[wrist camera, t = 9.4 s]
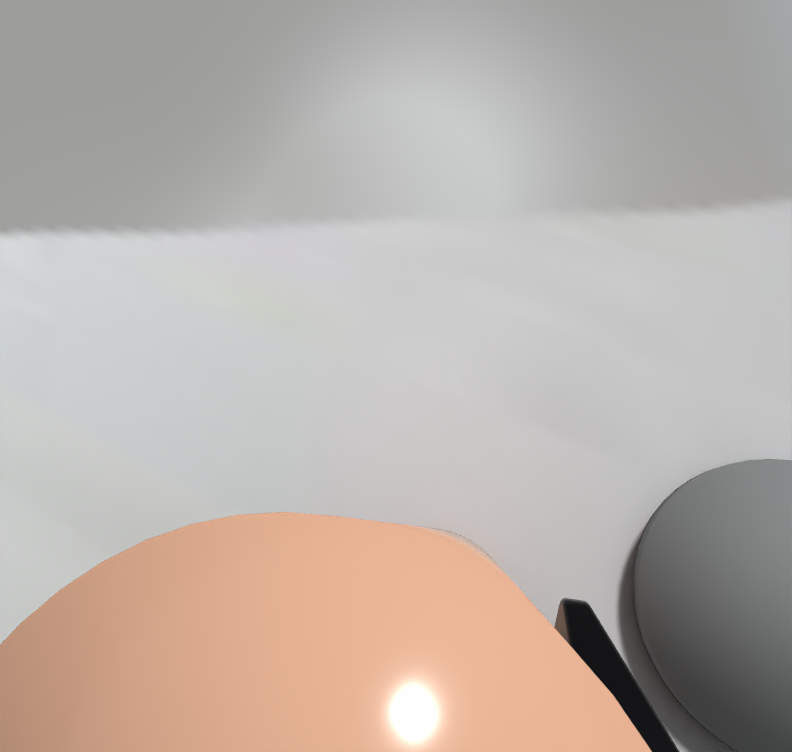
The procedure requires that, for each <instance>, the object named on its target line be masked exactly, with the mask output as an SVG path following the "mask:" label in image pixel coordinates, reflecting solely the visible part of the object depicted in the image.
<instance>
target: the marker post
mask: <svg viewBox="0 0 792 752" xmlns="http://www.w3.org/2000/svg"><path fill="white" fill-rule="evenodd" d="M0 752H652V751H651V750H650V748H649V747H648V745H647V744H646V742H645V741H644V739H643V738H642V737H641V735H640V734H639V732H638V731H637V729H636V728H635V726H634V725H633V723H632V722H631V720H630V719H629V718H628V716H627V715H626V713H625V712H624V710H623V709H622V707H621V706H620V704H619V703H618V702H617V700H616V699H615V697H614V696H613V694H612V693H611V692H610V691H609V690H608V689H607V688H606V686H605V685H604V684H603V683H602V682H601V681H600V679H599V678H598V677H597V676H596V675H595V674H594V673H593V671H592V670H591V669H590V668H589V667H588V666H587V664H586V663H585V662H584V661H583V660H582V659H581V657H580V656H579V655H578V654H577V653H576V652H575V651H574V649H573V648H572V647H571V646H570V645H569V644H568V643H567V641H566V640H565V639H564V638H563V637H562V636H561V635H560V634H559V633H558V631H557V630H556V629H555V628H554V627H553V626H552V625H551V624H550V623H549V621H548V620H547V619H546V618H545V617H544V616H543V615H542V614H541V613H540V611H539V610H538V609H537V608H536V607H535V606H534V605H533V604H532V602H531V601H530V600H529V599H528V598H527V597H526V596H525V595H524V594H523V592H522V591H521V590H520V589H519V588H518V587H517V586H516V585H515V584H514V582H513V581H512V580H511V579H510V578H509V577H508V576H507V575H506V574H505V572H504V571H503V570H502V569H501V568H500V567H499V566H498V565H497V564H496V562H495V561H494V560H493V559H492V558H491V557H490V556H489V555H488V554H487V553H486V552H485V551H484V550H483V549H482V548H481V547H479V546H478V545H476V544H475V543H473V542H472V541H471V540H469V539H467V538H465V537H463V536H461V535H458V534H456V533H453V532H450V531H446V530H441V529H435V528H427V527H419V526H411V525H402V524H394V523H386V522H378V521H370V520H362V519H354V518H346V517H337V516H327V515H315V514H302V513H290V512H279V513H262V514H246V515H235V516H230V517H225V518H220V519H215V520H210V521H205V522H200V523H195V524H191V525H188V526H185V527H182V528H179V529H176V530H173V531H171V532H168V533H165V534H162V535H159V536H156V537H153V538H150V539H147V540H145V541H143V542H141V543H139V544H137V545H135V546H133V547H131V548H129V549H127V550H125V551H123V552H121V553H119V554H117V555H115V556H113V557H111V558H109V559H107V560H105V561H103V562H101V563H100V564H98V565H97V566H95V567H94V568H92V569H91V570H89V571H88V572H86V573H85V574H83V575H82V576H80V577H79V578H77V579H76V580H74V581H73V582H71V583H70V584H68V585H67V586H65V587H64V588H62V589H61V590H59V591H58V592H57V593H56V594H55V595H54V596H52V597H51V598H50V599H49V600H48V601H47V602H45V603H44V604H43V605H42V606H41V607H39V608H38V609H37V610H36V611H35V612H34V613H32V614H31V615H30V616H29V617H28V618H26V619H25V620H24V621H23V622H22V623H21V624H20V625H19V626H18V627H17V628H16V629H15V630H14V631H13V632H12V633H11V634H10V635H9V636H8V637H7V638H6V639H5V641H4V642H3V643H2V644H1V645H0Z"/></svg>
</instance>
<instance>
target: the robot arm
mask: <svg viewBox="0 0 792 752" xmlns="http://www.w3.org/2000/svg"><path fill="white" fill-rule="evenodd" d="M554 628H555V629H556V630H557V631H558V633H559V634H560V635H561V636H562V637H563V638H564V639H565V640H566V641H567V643H568V644H569V645H570V646H571V647H572V648H573V649H574V651H575V652H576V653H577V654H578V655H579V656H580V657H581V659H582V660H583V661H584V662H585V663H586V664H587V666H588V667H589V668H590V669H591V670H592V671H593V673H594V674H595V675H596V676H597V677H598V678H599V679H600V681H601V682H602V683H603V684H604V685H605V686H606V688H607V689H608V690H609V691H610V692H611V693H612V694H613V696H614V697H615V699H616V700H617V702H618V703H619V704H620V706H621V707H622V709H623V710H624V712H625V713H626V715H627V716H628V718H629V719H630V720H631V722H632V723H633V725H634V726H635V728H636V729H637V731H638V732H639V734H640V735H641V737H642V738H643V739H644V741H645V742H646V744H647V745H648V747H649V748H650V750H651V751H652V752H679V750H678V749H677V747H676V745H675V744H674V742H673V741H672V739H671V737H670V736H669V734H668V732H667V731H666V729H665V727H664V726H663V724H662V723H661V721H660V719H659V718H658V716H657V714H656V713H655V711H654V710H653V708H652V706H651V705H650V703H649V701H648V700H647V698H646V696H645V695H644V693H643V692H642V690H641V688H640V687H639V685H638V683H637V682H636V680H635V679H634V677H633V675H632V674H631V672H630V670H629V669H628V667H627V665H626V664H625V662H624V661H623V659H622V657H621V656H620V654H619V652H618V651H617V649H616V648H615V646H614V644H613V643H612V641H611V639H610V638H609V636H608V634H607V633H606V631H605V630H604V628H603V626H602V625H601V623H600V621H599V620H598V618H597V617H596V615H595V613H594V612H593V610H592V608H591V607H590V605H589V604H588V603H586V602H585V601H581V600H574V599H568V598H564V599H562V600H561V602H560V605H559V609H558V614H557V618H556V623H555V627H554Z"/></svg>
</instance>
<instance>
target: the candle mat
mask: <svg viewBox="0 0 792 752" xmlns="http://www.w3.org/2000/svg"><path fill="white" fill-rule="evenodd" d="M633 599H634V606H635V612H636V618H637V623H638V626H639V629H640V633H641V636H642V639H643V642H644V644H645V647H646V649H647V651H648V654H649V656H650V658H651V661H652V662H653V664H654V666H655V668H656V669H657V671H658V673H659V675H660V676H661V678H662V680H663V681H664V683H665V684H666V685H667V687H668V688H669V689H670V691H671V692H672V694H673V695H674V696H675V698H676V699H677V700H678V701H679V702H680V703H681V704H682V705H683V707H684V708H685V709H686V710H687V711H688V712H689V713H690V714H691V715H692V716H693V717H694V718H695V719H696V720H698V721H699V722H700V723H701V724H702V725H703V726H704V727H705V728H706V729H708V730H709V731H710V732H711V733H712V734H714V735H715V736H716V737H717V738H719V739H720V740H721V741H723V742H724V743H726V744H727V745H728V746H730V747H731V748H733V749H734V750H736V751H737V752H792V461H790V460H775V459H763V460H749V461H744V462H739V463H734V464H729V465H725V466H722V467H719V468H716V469H713V470H710V471H707V472H704V473H702V474H700V475H698V476H696V477H694V478H692V479H690V480H689V481H687V482H686V483H684V484H683V485H682V486H680V487H679V488H677V489H676V490H675V491H674V492H673V493H672V494H671V495H670V496H668V497H667V498H666V499H665V500H664V501H663V503H662V504H661V505H660V506H659V508H658V509H657V510H656V511H655V513H654V514H653V516H652V517H651V519H650V521H649V523H648V524H647V526H646V528H645V530H644V533H643V535H642V538H641V540H640V543H639V546H638V550H637V554H636V558H635V563H634V574H633Z"/></svg>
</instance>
